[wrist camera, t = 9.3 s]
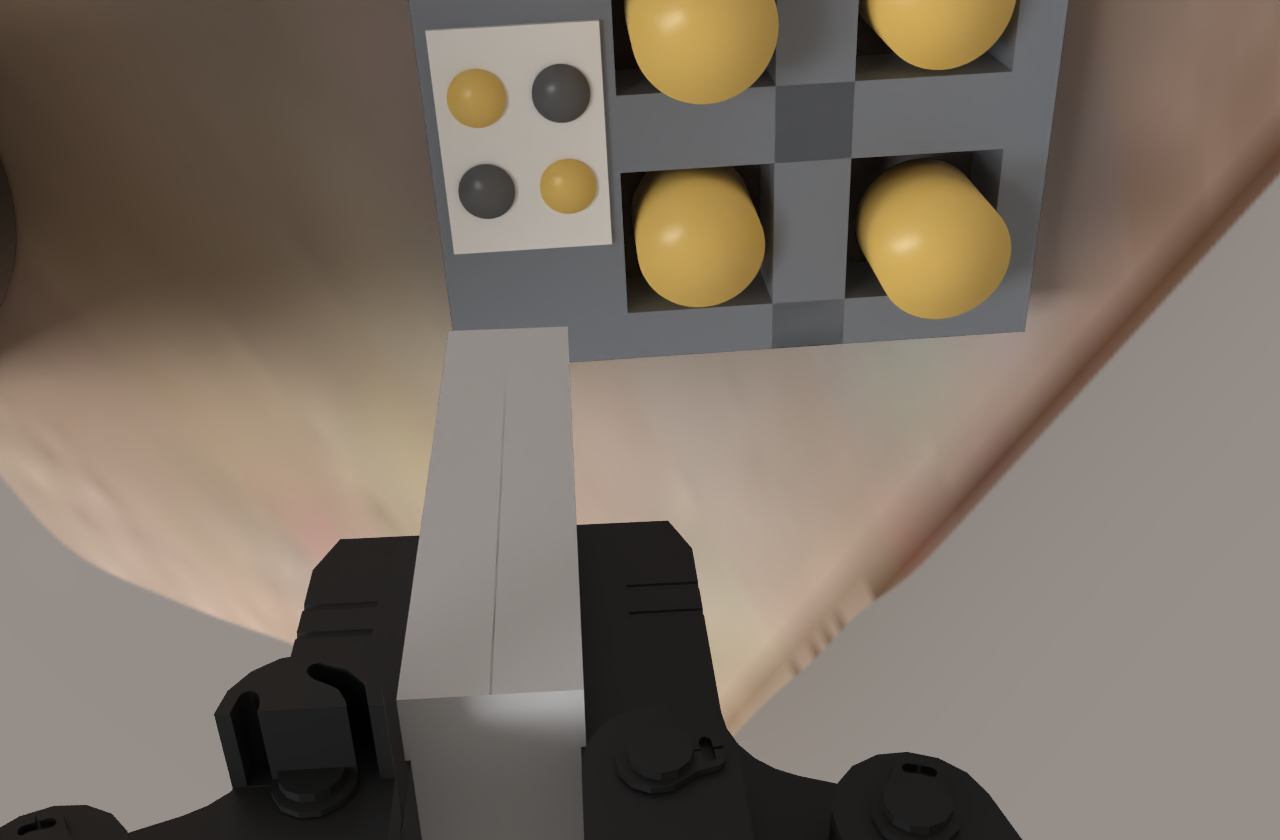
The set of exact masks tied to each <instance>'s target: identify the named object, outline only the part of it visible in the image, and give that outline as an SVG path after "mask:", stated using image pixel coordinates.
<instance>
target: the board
mask: <svg viewBox="0 0 1280 840" xmlns="http://www.w3.org/2000/svg"><path fill="white" fill-rule="evenodd" d="M408 2H409V9H410V16H411V24H412V31H413V39H414V46H415V53H416V61H417V68H418V76H419V83H420V90H421V98H422V105H423V113H424V120H425V127H426V135H427V142H428V150H429V157H430V165H431V172H432V179H433V187H434V194H435V202H436V209H437V216H438V224H439V231H440V239H441V246H442V253H443V261H444V268H445V276H446V283H447V290H448V298H449V305H450V313H451V320H452V327H453V331H463V330H489V329H515V328H541V327H567V326H568V343H569V362H584V361H598V360H613V359H628V358H642V357H657V356H671V355H686V354H701V353H715V352H730V351H745V350H759V349H774V348H789V347H803V346H818V345H833V344H847V343H862V342H877V341H891V340H906V339H921V338H935V337H950V336H965V335H979V334H994V333H1009V332H1023V331H1025V325H1026V318H1027V310H1028V303H1029V295H1030V287H1031V280H1032V272H1033V265H1034V257H1035V250H1036V242H1037V234H1038V227H1039V219H1040V212H1041V204H1042V196H1043V189H1044V181H1045V174H1046V166H1047V159H1048V151H1049V143H1050V136H1051V128H1052V121H1053V113H1054V106H1055V98H1056V90H1057V83H1058V75H1059V68H1060V60H1061V53H1062V45H1063V37H1064V30H1065V22H1066V15H1067V7H1068V0H1016V2H1015V7H1014V10H1013V13H1012V16H1011V18H1010V21H1009V23H1008V25H1007V27H1006V28H1005V30H1004V32H1003V33H1002V35H1001V36H1000V37H999V39H998V40H997V41H996V42H995V43H994V44H993V45H992V47H990V48H989V49H988V50H987V51H986V52H985V53H984V54H982V55H981V56H979V57H978V58H976V59H975V60H973V61H971V62H969V63H967V64H964V65H962V66H959V67H956V68H952V69H945V70H930V69H923V68H920V67H917V66H914V65H912V64H910V63H908V62H906V61H905V60H903V59H902V58H900V57H899V56H898V55H897V54H896V53H890V54H874V55H857V56H856V48H857V27H858V5H859V0H775V4H776V7H777V12H778V23H779V28H778V38H777V43H776V47H775V50H774V53H773V56H772V58H771V60H770V62H769V64H768V65H767V67H766V69H765V70H764V72H763V73H762V74H761V75H760V77H759V78H758V79H757V80H756V81H755V82H754V83H753V84H752V85H751V86H750V87H748V88H747V89H746V90H744V91H743V92H742V93H740V94H738V95H736V96H734V97H732V98H730V99H727V100H725V101H721V102H717V103H712V104H691V103H686V102H682V101H678V100H676V99H674V98H671V97H669V96H667V95H666V94H664V93H662V92H661V91H660V90H658V89H657V88H656V87H654V86H653V85H652V83H651V82H650V81H649V80H648V79H647V78H646V77H645V75H644V74H643V73H642V71H641V69H625V70H615V65H614V46H613V27H612V8H611V0H408ZM961 151H973V157H972V167H971V177H970V181H971V183H972V184H973V185H974V186H975V187H976V188H977V189H978V191H979V192H980V193H981V194H982V195H983V196H984V198H985V199H986V200H987V201H988V202H989V203H990V205H991V206H992V207H993V208H994V209H995V210H996V212H997V213H998V214H999V215H1000V216H1001V217H1002V219H1003V221H1004V222H1005V224H1006V226H1007V228H1008V231H1009V235H1010V239H1011V256H1010V262H1009V265H1008V268H1007V271H1006V273H1005V275H1004V277H1003V279H1002V281H1001V283H1000V284H999V286H998V287H997V288H996V289H995V291H994V292H993V293H992V294H991V295H990V296H989V297H988V298H987V299H986V300H985V301H983V302H982V303H981V304H980V305H978V306H976V307H975V308H973V309H972V310H969V311H967V312H965V313H963V314H960V315H958V316H954V317H950V318H944V319H926V318H920V317H916V316H914V315H911V314H908V313H907V312H905V311H903V310H901V309H900V308H899V307H898V306H896V305H895V304H894V303H893V302H892V301H891V300H890V298H889V297H888V295H887V294H886V292H885V291H884V289H883V287H882V285H881V283H880V282H879V280H878V278H877V276H876V275H875V273H874V271H873V269H872V267H871V266H870V264H869V262H868V261H863V262H848V263H846V260H847V239H848V217H849V196H850V175H851V158H866V157H882V156H898V155H913V154H929V153H945V152H961ZM755 164H761V166H760V223H761V225H762V228H763V232H764V237H765V252H764V257H763V261H762V264H761V267H760V269H759V271H758V273H757V275H756V276H755V278H754V279H753V280H752V282H751V283H750V284H749V285H748V286H747V287H746V288H745V289H744V290H743V291H742V292H741V293H739V294H738V295H736V296H735V297H733V298H731V299H730V300H728V301H726V302H723V303H720V304H717V305H713V306H708V307H688V306H683V305H679V304H676V303H673V302H671V301H669V300H667V299H665V298H664V297H662V296H661V295H659V294H658V293H657V292H656V291H655V290H654V289H653V288H652V287H651V286H650V285H649V284H648V282H647V281H646V279H645V277H644V276H635V277H626V272H625V254H624V235H623V216H622V197H621V178H620V173H628V172H644V171H660V170H676V169H692V168H708V167H723V166H739V165H755Z"/></svg>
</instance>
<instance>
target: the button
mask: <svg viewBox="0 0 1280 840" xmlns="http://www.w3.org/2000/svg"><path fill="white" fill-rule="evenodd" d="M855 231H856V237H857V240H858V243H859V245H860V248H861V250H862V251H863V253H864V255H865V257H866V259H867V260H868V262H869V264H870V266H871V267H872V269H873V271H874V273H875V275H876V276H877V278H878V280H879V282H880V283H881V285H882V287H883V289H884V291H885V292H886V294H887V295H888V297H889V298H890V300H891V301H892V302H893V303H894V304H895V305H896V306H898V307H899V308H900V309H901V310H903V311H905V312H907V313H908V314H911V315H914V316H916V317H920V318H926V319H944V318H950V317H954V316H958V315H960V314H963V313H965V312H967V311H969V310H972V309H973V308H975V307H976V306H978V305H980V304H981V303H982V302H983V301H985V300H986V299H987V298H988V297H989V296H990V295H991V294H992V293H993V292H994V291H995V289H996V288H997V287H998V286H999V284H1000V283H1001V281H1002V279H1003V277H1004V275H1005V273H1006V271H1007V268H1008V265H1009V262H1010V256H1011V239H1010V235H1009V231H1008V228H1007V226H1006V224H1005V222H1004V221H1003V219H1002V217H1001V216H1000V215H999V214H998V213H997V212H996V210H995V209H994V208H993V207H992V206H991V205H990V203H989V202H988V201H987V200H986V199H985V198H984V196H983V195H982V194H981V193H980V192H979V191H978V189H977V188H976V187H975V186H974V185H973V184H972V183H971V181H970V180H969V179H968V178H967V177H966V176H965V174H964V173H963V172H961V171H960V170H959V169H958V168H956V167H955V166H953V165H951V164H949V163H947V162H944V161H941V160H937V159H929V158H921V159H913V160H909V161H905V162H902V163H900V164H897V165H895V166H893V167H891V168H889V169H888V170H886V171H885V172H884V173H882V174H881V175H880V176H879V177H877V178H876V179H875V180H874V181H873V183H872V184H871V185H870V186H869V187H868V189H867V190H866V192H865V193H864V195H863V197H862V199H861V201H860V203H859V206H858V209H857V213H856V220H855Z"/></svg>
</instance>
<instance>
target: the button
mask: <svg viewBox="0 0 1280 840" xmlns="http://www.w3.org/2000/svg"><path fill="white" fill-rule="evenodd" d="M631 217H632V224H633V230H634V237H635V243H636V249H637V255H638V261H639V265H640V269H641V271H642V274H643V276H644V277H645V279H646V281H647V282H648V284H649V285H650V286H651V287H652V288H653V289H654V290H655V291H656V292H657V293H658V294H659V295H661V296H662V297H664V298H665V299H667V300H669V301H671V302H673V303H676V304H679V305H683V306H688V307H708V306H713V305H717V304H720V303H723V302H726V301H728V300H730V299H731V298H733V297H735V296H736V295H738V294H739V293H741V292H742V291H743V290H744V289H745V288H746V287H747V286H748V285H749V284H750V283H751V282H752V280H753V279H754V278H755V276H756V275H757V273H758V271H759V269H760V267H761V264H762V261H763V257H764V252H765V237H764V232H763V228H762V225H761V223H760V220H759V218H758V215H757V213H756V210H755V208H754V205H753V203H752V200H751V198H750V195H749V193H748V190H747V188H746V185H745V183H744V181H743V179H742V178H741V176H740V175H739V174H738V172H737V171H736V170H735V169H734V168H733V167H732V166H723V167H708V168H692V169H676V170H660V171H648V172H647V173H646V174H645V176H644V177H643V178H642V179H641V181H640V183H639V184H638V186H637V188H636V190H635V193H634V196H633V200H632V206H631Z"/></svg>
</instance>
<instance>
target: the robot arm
mask: <svg viewBox="0 0 1280 840" xmlns="http://www.w3.org/2000/svg"><path fill="white" fill-rule="evenodd" d="M15 248H16V224H15V215H14V207H13V202H12V197H11V192H10V189H9V185H8V181H7V178H6V175H5V172H4V169H3V166H2V164H1V161H0V305H1V303H2V301H3V298H4V296H5V294H6V291H7V288H8V285H9V282H10V279H11V275H12V270H13V265H14V259H15ZM214 716H215V720H216V723H217V727H218V732H219V736H220V740H221V743H222V747H223V751H224V755H225V759H226V763H227V767H228V771H229V775H230V779H231V783H232V787H233V789H232V791H231V792H230V793H228V794H226V795H225V796H223V797H221V798H220V799H218V800H216V801H215V802H213V803H212V804H210V805H208V806H206V807H204V808H201V809H199V810H196V811H194V812H191V813H189V814H186V815H184V816H181V817H178V818H175V819H172V820H169V821H165V822H162V823H159V824H155V825H152V826H149V827H146V828H143V829H140V830H136V831H133V832H130V833H128V832H127V830H126V829H125V828H124V827H123V826H122V825H121V824H120V823H119V821H118V820H117V819H116V818H115V817H114V816H113V815H112V814H111V813H108V812H105V811H102V810H99V809H96V808H93V807H90V806H88V805H71V806H52V807H49V808H46V809H43V810H39V811H36V812H33V813H29V814H26V815H23V816H19V817H18V818H16V819H14V820H13V821H11V822H9V823H7V824H6V825H4V826H2V827H0V840H1022V839H1021V838H1020V836H1019V835H1018V833H1017V832H1016V831H1015V829H1014V828H1013V827H1012V825H1011V824H1010V822H1009V821H1008V820H1007V818H1006V817H1005V816H1004V814H1003V813H1002V811H1001V810H1000V809H999V807H998V806H997V804H996V803H995V802H994V800H993V799H992V798H991V796H990V795H989V794H988V793H987V792H986V791H985V790H984V789H983V788H982V787H981V786H980V785H979V784H978V783H977V782H976V781H975V780H974V779H973V778H972V777H971V776H970V775H969V774H968V773H966V772H964V771H963V770H961V769H959V768H956V767H955V766H952V765H951V764H949V763H947V762H945V761H943V760H940V759H939V758H935V757H930V756H925V755H920V754H915V753H909V752H902V753H892V754H880V755H876V756H874V757H871V758H869V759H867V760H865V761H863V762H860V763H858V764H856V765H854V766H852V767H851V768H850V770H849V771H848V772H847V773H846V774H845V775H844V777H843V778H842V779H841V780H840V781H839V782H838V784H836V783H831V782H826V781H821V780H816V779H811V778H807V777H801V776H797V775H794V774H791V773H787V772H784V771H780V770H778V769H775V768H773V767H771V766H769V765H767V764H765V763H763V762H761V761H759V760H757V759H755V758H754V757H753V756H752V755H750V754H749V753H748V752H747V751H746V750H744V749H743V748H742V747H741V746H739V745H738V743H737V742H736V741H735V739H734V738H733V737H732V735H731V734H730V732H729V731H728V730H727V728H726V725H725V722H724V719H723V716H722V714H721V709H720V704H719V698H718V692H717V687H716V681H715V675H714V670H713V664H712V658H711V653H710V647H709V641H708V636H707V630H706V625H705V619H704V615H703V608H702V602H701V596H700V591H699V588H698V579H697V574H696V568H695V562H694V557H693V551H692V548H691V547H690V546H689V544H688V543H687V542H686V541H685V540H684V539H683V538H682V536H681V535H680V534H679V533H678V532H677V531H676V529H675V528H674V527H673V526H672V525H671V524H670V523H669V521H651V522H630V523H609V524H588V525H577V524H576V502H575V479H574V456H573V434H572V411H571V388H570V366H569V343H568V326H567V327H541V328H515V329H489V330H463V331H448V338H447V346H446V353H445V360H444V367H443V374H442V381H441V388H440V395H439V402H438V409H437V416H436V423H435V430H434V437H433V444H432V451H431V458H430V466H429V473H428V480H427V487H426V494H425V501H424V508H423V515H422V522H421V529H420V536H401V537H380V538H359V539H340V540H339V541H338V542H337V544H336V545H335V546H334V547H333V548H332V549H331V550H330V551H329V553H328V554H327V555H326V556H325V557H324V558H323V559H322V561H321V562H320V563H319V564H318V565H317V566H316V567H315V568H314V570H313V572H312V576H311V580H310V584H309V587H308V591H307V595H306V599H305V603H304V611H302V615H301V619H300V622H299V626H298V630H297V639H295V642H294V646H293V650H292V654H291V657H287V658H281V659H279V660H276V661H274V662H272V663H270V664H267V665H265V666H263V667H261V668H258V669H256V670H254V671H252V672H250V673H249V674H248V675H247V676H245V677H244V678H243V679H242V680H240V681H239V682H238V683H237V684H236V685H234V686H233V687H232V688H231V689H230V690H228V691H227V693H226V695H225V696H224V698H223V700H222V702H221V703H220V705H219V707H218V708H217V710H216V712H215V714H214Z"/></svg>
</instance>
